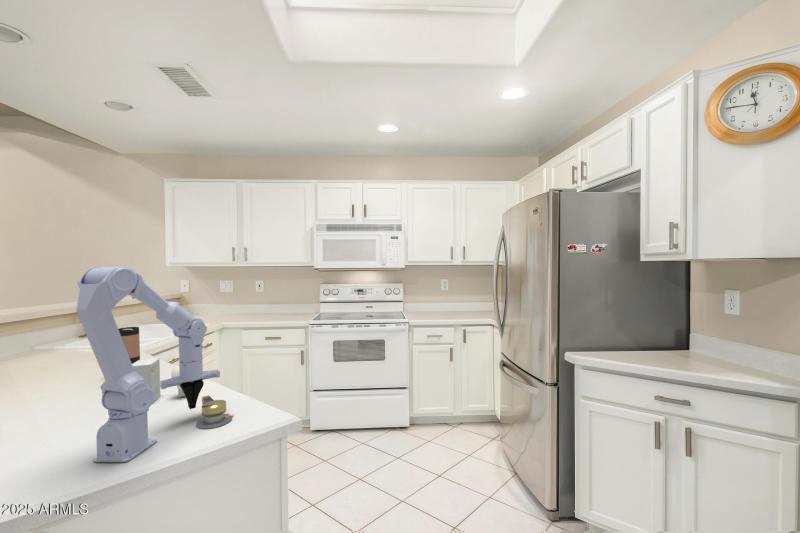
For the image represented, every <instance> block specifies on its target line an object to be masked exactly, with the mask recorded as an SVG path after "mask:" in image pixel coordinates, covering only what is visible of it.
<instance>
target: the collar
mask: <svg viewBox="0 0 800 533" xmlns="http://www.w3.org/2000/svg"><path fill="white" fill-rule="evenodd" d="M201 404H202V405H201V415H202V418H204V417H214V416H218V415H221V414H226V412H227V400H224V399H215V400H214V399H213V398H212V397H211V395H209V394H208V395H204V396H202V397H201Z"/></svg>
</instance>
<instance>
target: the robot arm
mask: <svg viewBox="0 0 800 533" xmlns="http://www.w3.org/2000/svg"><path fill="white" fill-rule="evenodd" d="M76 283H77V286H78V287H79V292H78V297H77V304H76V313H77V317H78V318H79V322H80V323H81V325H82V328H83V330H84V333H85V335H86V338H87V340H88V342H89V345H90V347H91V349H92V351H93V354H94V356H95V359H96V361H97V364H98V366H99V368H100V371H101V373H102V375H103V378H104V382H103V383H102V384H101V385H100V390H101V402H100V403H101V405H102V406H103V407H104V409H106V410H107V415H108V419H107V421H106V422H105V423H104V424H102V425H101V426H100V427H99V428H98V430H97V432H96V457H95V458H94V459H93V463H127V462H129V461H130V460H132V459H134V458H135V457H136V456H138V455H139V454H141V453H142V452H144V451H145V450H146V449H149V447H151V446H153V445H154V444H155V443H157V442H158V439H154V438H152V439H151V438H150V439H149V433H148V432H149V431H148V430H149V429H148V427H149V425H148V424H149V422H148V419H149V418H148V412H149V410H150V407H151V406H152V405H153V404H154V403H153V401H154V396H155V394H154V390H153V389H152V388H151V387H150V386H148V385H147V384H146V382H145V379H144V378H143V377H141V376H140V375H139V374H137V373H136V372H135V371H134V368H133V366H132V363H131V361H130V358H129V356H128V353H127V350H126V348H125V345H124V343H123V340H122V338H121V335H120V332H119V330H118V329H119V327H118V325H117V322H116V319H115V317H114V314H113V312H112V311H113V310H114V308H115V306H117V304H119V303H120V302H121V301H122V300H123V299H124V298H126V297H127V296H131V297H133V298H134V299H136V300H137V301H138V302H140V303H142V304H143V305H145V306H146V307H148V308H149V309H151V310H153V311H154V312H155V317H156V319H157V320H158V321H160V322H161V323H162V324H164V325H166V326H167V327H169V329H171V330H172V333H173V336H174V337H177V338H178V365H179V374H180V376H177V377H173V378H172V377H171V378H167V379H162V380H160V390H165V389H167V388H172V387H177V385H180V387H181V389H182V390H183V392H184V394H185V398H186V401H187V405H188V406H187V407H188V408H189V410H194V409H195V408H196V407H197V402H198V399H199V396H200V392H201V391H202V389H203V387H204V384H205V383H204V381H205V380H208V379H214V378H216V379H218V378H220V377H221V376H220V375H221V370H220V369H219V368H218V369H212V370H203V368H204V367H203V342H204V340H205V339H204V337H205V335H206V332H207V330H208V327H207V326H206V323H205V322H204V320H202V319H201V318H195V317H194V315H193V313H192V312H189V311H187V310H186V309H185V308H183V307H182V304H181V302H178V301H176V302H175V301H167V300H166V299H164V297H162V296H161V295H160V294H159V293H158V292H157V291H156V290H154V288H152V287H151V286H150V285H149V284H148V283H147V282H146V281H145V280H144V279H143V276H142V275H141V274H140V273H138V272H136V271H135V270H134V269H133V268H131V267H129V266H124V265H120V266H108V267H107V266H105V267H102V266H93V267H90V268H89V269H88V268H87V270H86V271H85V272H84V273H83V274H82V275H81V277H80V278H79V279H78V280H77V282H76ZM152 403H153V404H152Z"/></svg>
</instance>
